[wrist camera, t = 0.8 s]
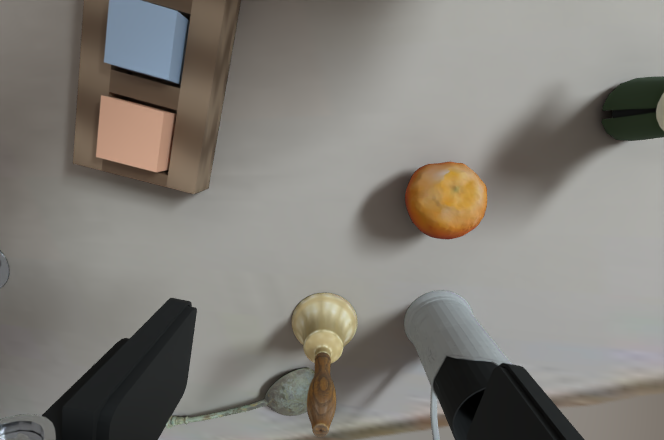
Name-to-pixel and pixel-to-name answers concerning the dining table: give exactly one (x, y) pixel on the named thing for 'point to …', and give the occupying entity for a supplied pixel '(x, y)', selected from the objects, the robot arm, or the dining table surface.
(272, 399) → the soupspoon
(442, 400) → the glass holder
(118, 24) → the slate key
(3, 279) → the wine glass
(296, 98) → the dining table surface
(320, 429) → the hand bell
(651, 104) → the character mug
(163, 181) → the key panel
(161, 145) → the terracotta key
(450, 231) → the fruit
